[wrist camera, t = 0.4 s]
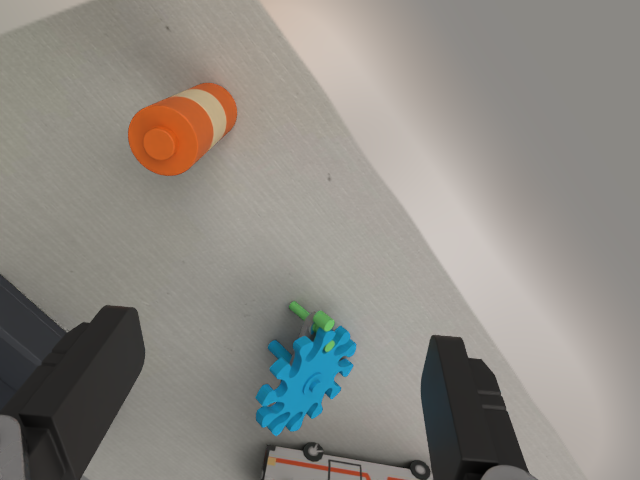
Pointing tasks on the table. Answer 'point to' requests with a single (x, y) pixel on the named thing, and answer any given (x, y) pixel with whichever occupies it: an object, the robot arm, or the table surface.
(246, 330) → the table surface
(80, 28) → the table surface
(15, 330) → the bin
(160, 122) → the orange cylinder
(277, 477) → the toy vehicle
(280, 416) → the gear
